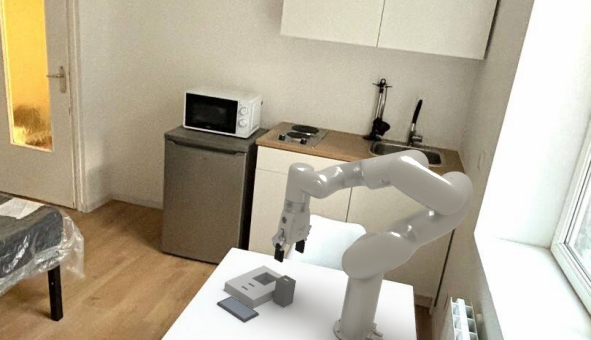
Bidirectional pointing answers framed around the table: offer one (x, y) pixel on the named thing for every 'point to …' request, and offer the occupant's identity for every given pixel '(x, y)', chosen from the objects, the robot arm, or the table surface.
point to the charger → (284, 291)
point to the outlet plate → (253, 286)
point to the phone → (237, 309)
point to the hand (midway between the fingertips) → (289, 256)
